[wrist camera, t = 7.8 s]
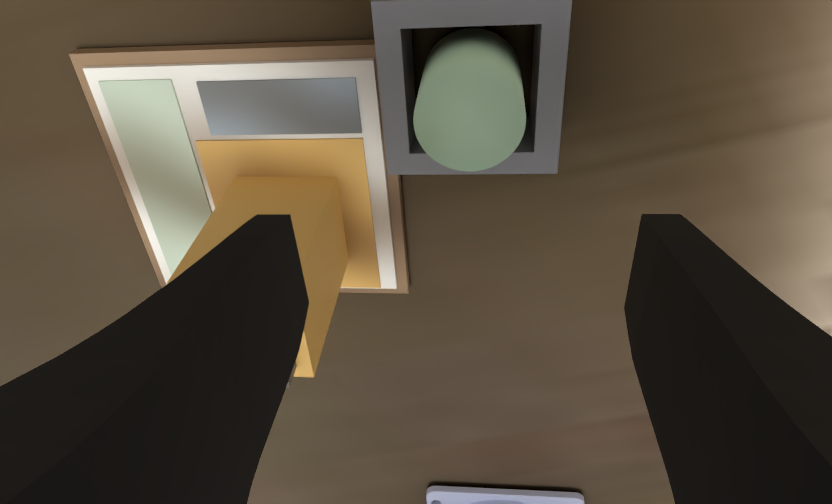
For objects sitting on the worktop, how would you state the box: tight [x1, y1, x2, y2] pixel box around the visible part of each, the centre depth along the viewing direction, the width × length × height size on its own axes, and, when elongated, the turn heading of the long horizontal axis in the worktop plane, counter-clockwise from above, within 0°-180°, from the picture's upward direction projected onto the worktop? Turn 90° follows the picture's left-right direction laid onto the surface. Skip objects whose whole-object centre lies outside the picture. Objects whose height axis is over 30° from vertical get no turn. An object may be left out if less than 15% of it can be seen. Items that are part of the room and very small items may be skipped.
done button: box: [413, 28, 526, 172], centre depth 17 cm, size 3×3×3 cm
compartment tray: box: [69, 39, 410, 294], centre depth 22 cm, size 10×10×1 cm
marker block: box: [167, 176, 348, 387], centre depth 19 cm, size 4×4×6 cm
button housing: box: [371, 0, 572, 175], centre depth 18 cm, size 5×5×2 cm
